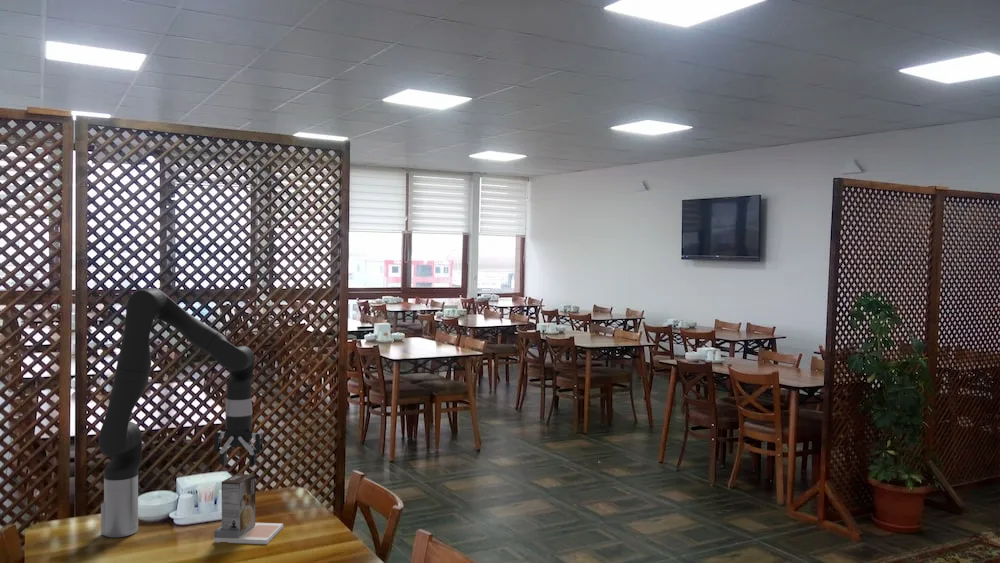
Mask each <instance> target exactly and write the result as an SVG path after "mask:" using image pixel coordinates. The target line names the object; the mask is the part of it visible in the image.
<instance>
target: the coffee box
mask: <svg viewBox="0 0 1000 563" xmlns="http://www.w3.org/2000/svg"><path fill="white" fill-rule="evenodd" d="M255 523H256V474H250V473H249V474H248V473H247V474H245V473H236V474H234V475H232V476H230V477H229V478H226V479H224V480H223V481H221V525H222V530H239V536H241V535H242V534H244V533H245V532H247V531H248V530H250V529H251V528H252V527H254V526H255Z"/></svg>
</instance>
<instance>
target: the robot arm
mask: <svg viewBox="0 0 1000 563" xmlns="http://www.w3.org/2000/svg"><path fill="white" fill-rule="evenodd" d="M156 319H157V320H159V321H162V322H163V323H166V324H167V325H169V326H171V327H172V328H174V329H175V330H176V331H177V332H179V333H180V335H182V336H183V337H184V338H185V339H186V340H187V341H188V342H189V343H190V344H192V345H193V346H195V347H196V348H198V349H200V350H201V351H203V352H204V353H206V354H208V355H209V356H211V357H212V358H213V359H215V360H216V361H217V362H218V364H220V365H221V366H223V367H224V368H226V369H228V370H229V371H230V378H229V380H228V381H227V386H226V402H225V431H222V430H221V429H220V430H218V431H216V432H215V433H214V440H213V441H214V442H213V451H214V452H215V453H218V454H219V463H220V465H221V467H225V466H227V465H228V464H227V463H228V453H227V451H228V450H229V448H230V447H232V448H236V447H238V448H243V447H244V449H245V450H246V451H247V452H248V453H249V454H250V455H249V457H248V458H249V460H248V463H249V464H248V465H249V466H248V467H249V468H253V467H254V466H255V465H257V454H260V453H261V452H263V450H264V444H263V441H264V440H263V433H262V432H261V431H259V432H253V431H252V427H253V425H252V424H253V403H252V402H253V400H252V381H253V375H254V374H253V373H254V368H255V354H254V352H253V350H252V349H251V348H250V347H249V346H245V345H241V346H235V345H234V344H233V343H231V342H230V341H228V339H227V336H225V335H224V334H222V333H221V332H219V331H218V330H216V329H214V328H212V327H211V326H210V325H208V324H205V323H204V322H203V321H202V320H199V319H198V318H196V317H195V316H193V315H192V314H190V313H189V312H187V311H186V310H185V309H184V308H182V307H181V306H180V305H178V303H176V302H175V301H174V300H173V299H171V298H170V297H169V296H168V295H167V294H166V293H165V292H163V291H162V290H161V289H158V288H154V287H148V288H143V289H138V290H135V291H134V292H133V293H131V294H130V296H129V298H128V300H127V303H126V311H125V322H124V331H123V337H122V342H121V346H120V350H119V356H118V358H117V364H116V367H115V372H114V378H113V383H112V384H113V385H112V387H111V388H112V389H111V392H110V398H109V402H108V406H107V411H106V413H105V417H104V420H103V422H102V424H101V428H100V432H99V435H98V448H99V450H100V453H102V454H103V456H105V457H106V458H112V459H111V460H110V462H109V463H108V464H107V466H105V468H104V469H103V502H102V503H101V504H100V536H105V537H107V538H122V537H127V536H131V535H133V534H136V533H138V531H139V469H140V467H141V462H142V450H143V436H142V435H143V434H142V431H141V429H140V427H139V426H138V424H136V423H135V422H133V421H130V419H131V415H132V413H133V410H134V408H135V407H136V405H137V403H138V402H139V400H140V399H141V398H142V395H143V393H144V392H145V389H146V388H147V385H148V384H149V383H148V382H149V379H150V378H149V377H150V373H151V369H152V355H151V348H150V335H151V331H152V326H153V323H154V320H156ZM223 438H225V440H226V442H225V443H224V444H223V446H222V439H223ZM251 439H253V440H254V441H255V446H254V443H253V442H252V440H251Z"/></svg>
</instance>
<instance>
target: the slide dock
mask: <svg viewBox="0 0 1000 563" xmlns="http://www.w3.org/2000/svg"><path fill="white" fill-rule="evenodd" d="M283 528H284V523H280V522H279V523H278V522H274V523H273V522H255V526H254V527H252V528H251V529H250V530H248V531H247V532H245V533H244V534H242V535H241V536H239V530H222V524H221V525H220V526H218V527H217V528H216V529H215V530H214V537H213V543H220V542H228V543H229V544H250V545H252V544H253V545H254V544H255V545H268V544H269V543H270V542H271V541H272V540H273V539H274V538H275V537H276V535H277V534H278V533H279V532H281V530H283ZM273 537H274V538H273ZM228 543H227V544H228Z"/></svg>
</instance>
